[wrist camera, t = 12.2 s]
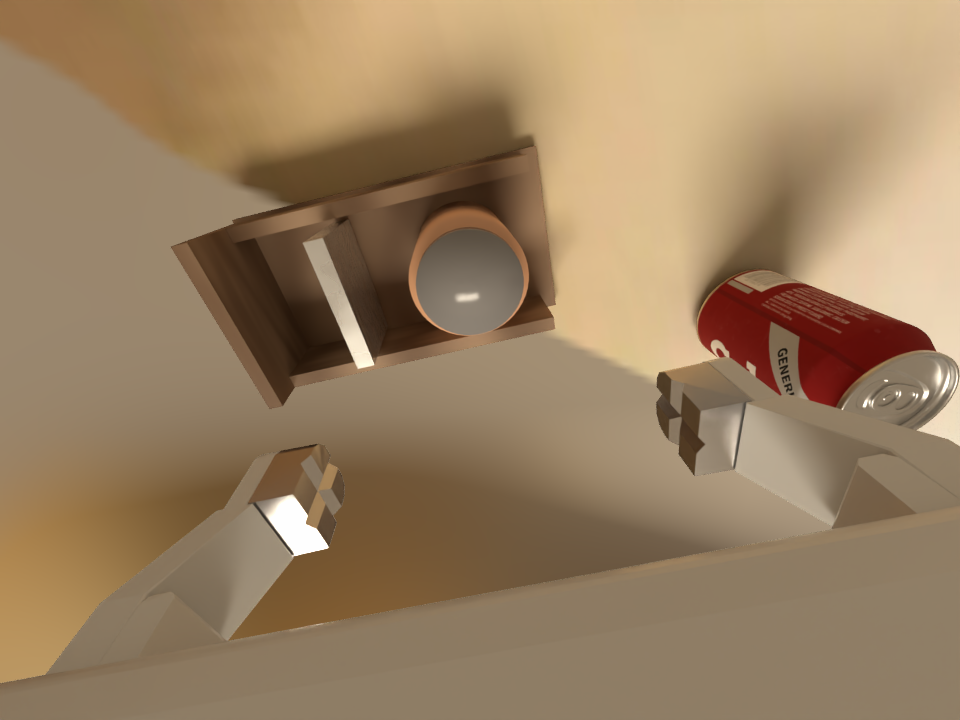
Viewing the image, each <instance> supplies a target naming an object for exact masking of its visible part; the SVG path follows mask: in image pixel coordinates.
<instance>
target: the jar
mask: <svg viewBox="0 0 960 720" xmlns="http://www.w3.org/2000/svg"><path fill="white" fill-rule="evenodd" d="M528 282H529V270H528V264H527V260H526V257H525V254H524V252H523V250H522V248H521V246H520V245H519V243H518V242H517V241H516V239H515V238H514V237H513V235H512V234H511V233H510V232H509V230H508V229H507V228H506V227H505V225H504V224H503V223H502V221H501V220H500V219H499V218H498V216H497V215H496V214H495V213H494V212H492V211H491V210H490V209H488V208H487V207H485V206H483V205H481V204H478V203H475V202H470V201H456V202H451V203H448V204H445V205H443V206H441V207H439V208H438V209H436V210H435V211H434V212H433V213H431V214H430V215H429V216H428V218H427V219H426V220H425V222H424V223H423V225H422V227H421V229H420V232H419V235H418V238H417V242H416V245H415V249H414V252H413V256H412V259H411V263H410V267H409V287H410V292H411V295H412V298H413V301H414V303H415V305H416V307H417V308H418V310H419V311H420V312H421V314H422V315H423V316H424V317H425V318H426V319H427V320H428V321H429V322H430V323H432V324H433V325H434V326H436V327H438V328H439V329H441V330H444V331H446V332H448V333H452V334H456V335H464V336H472V335H480V334H484V333H487V332H490V331H493V330H495V329H497V328H499V327H500V326H502V325H503V324H505V323H506V322H507V321H508V320H510V319H511V318H512V317H513V316H514V315H515V313H516V312H517V311H518V309H519V308H520V306H521V304H522V303H523V300H524V298H525V296H526V292H527V289H528Z"/></svg>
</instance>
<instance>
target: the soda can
mask: <svg viewBox="0 0 960 720" xmlns="http://www.w3.org/2000/svg"><path fill="white" fill-rule="evenodd" d="M696 330H697V335H698V338H699V340H700V342H701V343H702V345H703V346H704V347H705V348H707V349H708V350H709V351H710V352H712V353H713V354H714V355H715V356H717V357H718V358H722V357H728V358H732V359H733V360H734V361H736V362H737V363H738V364H740V365H741V366H742V367H743V368H745V369H746V370H747V371H749V372H750V373H751V374H753V375H754V376H755V377H756V378H758V379H759V380H760V381H762V382H763V383H764V384H766V385H767V386H768V387H769V388H771V389H772V390H773V391H775V392H776V393H777V394H778V395H780V396H781V395H786V394H789V395H792V396H796V397H799V398H803V399H806V400H810V401H813V402H817V403H821V404H824V405H828V406H831V407H835V408H838V409H842V410H845V411H849V412H852V413H856V414H860V415H863V416H867V417H870V418H874V419H877V420H881V421H884V422H888V423H892V424H895V425H899V426H902V427H906V428H909V429H913V430H917V429H919V428H921V427H922V426H923V425H925V424H926V423H928V422H929V421H930V420H931V419H933V418H934V417H935V416H936V415H937V414H938V413H939V412H940V411H941V410H942V409H943V408H944V407H945V406H946V404H947V403H948V402H949V400H950V399H951V398H952V396H953V394H954V392H955V390H956V388H957V385H958V382H959V368H958V366H957V364H956V362H955V361H954V360H953V359H952V358H950V357H948V356H947V355H944V354H942V353H940V352H936V350H935V348H934V346H933V344H932V342H931V340H930V338H929V337H928V336H927V334H925V333H924V332H923V331H922V330H920V329H919V328H917V327H915V326H912V325H910V324H907V323H905V322H902V321H900V320H897V319H894V318H892V317H889V316H887V315H884V314H882V313H879V312H876V311H874V310H871V309H869V308H866V307H864V306H861V305H858V304H856V303H853V302H851V301H848V300H845V299H843V298H840V297H838V296H835V295H833V294H830V293H827V292H825V291H822V290H820V289H817V288H815V287H812V286H809V285H807V284H804V283H802V282H799V281H797V280H794V279H791V278H789V277H786V276H784V275H781V274H779V273H776V272H773V271H770V270H766V269H752V270H747V271H743V272H740V273H738V274H735V275H733V276H731V277H730V278H728V279H726V280H725V281H723V282H722V283H721V284H719V285H718V286H717V287H716V288H715V289H714V290H713V291H712V292H711V293H710V294H709V296H708V297H707V298H706V300H705V301H704V303H703V305H702V307H701V309H700V311H699V314H698V317H697V323H696Z"/></svg>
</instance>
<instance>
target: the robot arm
mask: <svg viewBox="0 0 960 720" xmlns="http://www.w3.org/2000/svg"><path fill="white" fill-rule="evenodd" d="M657 388H658V389H659V391H660V392H661V393H662V396H661V397H660V398H659V400H658V401H657V402H656V403H657V404H656V408H657V417H658V421H659V425H660V427H661V429H662V431H663V433H664V435H665V436H666V438H667V439H668V440H669V441H671V442H673V443H675V444H677V445H679V456H680V457H681V458H682V460H683V461H684V462H685V464H686V465H687V467H688V468H689V469H690V471H691V472H692V473H693V475H694V476H698V475H705V474H711V473H716V472H722V471H728V470H734V469H735V472H737V473H739V474H740V475H742V476H744V477H746V478H748V479H749V480H751V481H753V482H755V483H756V484H758V485H760V486H761V487H764V488H765V489H767V490H768V491H770V492H772V493H774V494H776V495H777V496H779V497H781V498H783V499H785V500H786V501H788V502H790V503H791V504H793V505H795V506H797V507H798V508H800V509H802V510H804V511H805V512H807V513H809V514H811V515H813V516H814V517H816V518H818V519H819V520H821V521H823V522H825V523H827V524H828V525H830V526H832V529H830V530H825V531H820V532H815V533H809V534H803V535H798V536H793V537H788V538H782V539H777V540H772V541H766V542H760V543H755V544H750V545H744V546H738V547H733V548H728V549H722V550H717V551H711V552H706V553H701V554H695V555H691V556H685V557H679V558H674V559H669V560H663V561H658V562H653V563H647V564H642V565H637V566H631V567H626V568H620V569H615V570H610V571H604V572H599V573H594V574H589V575H583V576H578V577H572V578H567V579H562V580H556V581H550V582H545V583H540V584H534V585H529V586H524V587H518V588H513V589H507V590H502V591H496V592H491V593H485V594H480V595H475V596H470V597H465V598H459V599H453V600H448V601H442V602H437V603H431V604H426V605H421V606H415V607H410V608H404V609H399V610H393V611H388V612H382V613H377V614H372V615H366V616H361V617H355V618H350V619H345V620H339V621H334V622H329V623H323V624H318V625H313V626H307V627H302V628H296V629H291V630H285V631H280V632H274V633H269V634H264V635H258V636H253V637H247V638H243V639H237V640H231V641H228V640H229V638H230V637H231V636H232V634H233V633H234V632H235V631H236V629H237V628H238V627H239V626H240V624H241V623H242V622H243V621H244V619H245V618H246V617H247V616H248V614H249V613H250V612H251V611H252V609H253V608H254V607H255V606H256V604H257V603H258V602H259V601H260V599H261V598H262V597H263V595H264V594H265V593H266V592H267V591H268V589H269V588H270V587H271V585H272V584H273V583H274V582H275V580H276V579H277V578H278V577H279V576H280V574H281V573H282V572H283V570H284V569H285V568H286V567H287V565H288V564H289V563H290V562H291V560H292V559H293V556H295V555H299V554H303V553H308V552H312V551H316V550H321V549H325V548H329V546H330V542H331V539H332V536H333V533H334V529H335V526H336V520H335V519H334V517H333V515H334V514H335V513H336V512H337V511H338V510H339V508H341V506H342V503H343V499H344V482H343V478H342V475H341V473H340V471H339V469H338V468H336V467H335V466H333V465H331V464H329V463H328V462H329V459H330V454H329V452H328V450H327V449H326V447H325V445H322V444H315V445H309V446H304V447H299V448H293V449H288V450H283V451H280V452H273V453H269V454H263V455H261V456H259V457H257V458H256V459H255V460H254V462H253V463H252V465H251V467H250V468H249V470H248V471H247V473H246V474H245V476H244V478H243V479H242V481H241V482H240V484H239V486H238V487H237V489H236V490H235V492H234V493H233V495H232V497H231V498H230V500H229V501H228V503H227V505H226V506H225V508H224V509H223V510H219V511H216V512H215V513H214V514H212V515H211V516H210V517H208V518H207V519H206V520H205V521H204V522H202V523H201V524H200V525H198V526H197V527H196V528H195V529H193V530H192V531H191V532H190V533H188V534H187V535H186V536H184V537H183V538H182V539H181V540H179V541H178V542H177V543H176V544H175V545H173V546H172V547H171V548H169V549H168V550H167V551H166V552H164V553H163V554H162V555H160V556H159V557H158V558H157V559H155V560H154V561H153V562H152V563H150V564H149V565H148V566H147V567H145V568H144V569H143V570H142V571H140V572H139V573H138V574H137V575H135V576H134V577H133V578H132V579H130V580H129V581H128V582H126V583H125V584H124V585H123V586H121V587H120V588H119V589H118V590H116V591H115V592H114V593H112V594H111V595H110V596H109V597H108V598H106V599H105V600H104V601H102V602H101V603H100V604H99V606H98V607H97V608H96V609H95V611H94V612H93V613H92V614H91V616H90V617H89V619H88V620H87V621H86V622H85V624H84V625H83V626H82V628H81V629H80V630H79V632H78V633H77V634H76V635H75V637H74V638H73V639H72V641H71V642H70V643H69V645H68V646H67V647H66V648H65V650H64V651H63V652H62V654H61V655H60V656H59V658H58V659H57V660H56V662H55V663H54V664H53V665H52V667H51V668H50V669H49V671H48V672H47V673H46V675H42V676H37V677H32V678H26V679H21V680H16V681H10V682H4V683H0V720H960V446H958V445H957V444H955V443H953V442H952V441H950V440H948V439H945V438H941V437H938V436H934V435H931V434H927V433H924V432H920V431H916V430H913V429H909V428H906V427H902V426H899V425H895V424H892V423H888V422H884V421H881V420H877V419H874V418H870V417H867V416H863V415H860V414H856V413H852V412H849V411H845V410H842V409H838V408H835V407H831V406H828V405H824V404H821V403H817V402H813V401H810V400H806V399H803V398H799V397H796V396H792V395H789V394H786V395H781V396H780V395H778V394H777V393H776V392H775V391H773V390H772V389H771V388H769V387H768V386H767V385H766V384H764V383H763V382H762V381H760V380H759V379H758V378H756V377H755V376H754V375H753V374H751V373H750V372H749V371H747V370H746V369H745V368H743V367H742V366H741V365H740V364H738V363H737V362H736V361H734V360H733V359H732V358H728V357H722V358H718V359H714V360H710V361H706V362H703V363H700V364H696V365H691V366H686V367H682V368H677V369H672V370H668V371H663V372H659V374H658V377H657Z"/></svg>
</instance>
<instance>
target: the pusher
mask: <svg viewBox="0 0 960 720" xmlns="http://www.w3.org/2000/svg"><path fill="white" fill-rule="evenodd" d="M303 245H304V247H305V249H306V252H307V254H308V256H309V259H310V261H311V263H312V265H313V268H314V271H315V273H316V275H317V278H318V280H319V282H320V284H321V287H322V289H323V291H324V294H325V296H326V298H327V300H328V303H329V305H330V307H331V310H332V312H333V314H334V316H335V318H336V320H337V323H338V325H339V327H340V329H341V332H342V334H343V336H344V339H345V341H346V343H347V345H348V348H349V350H350V352H351V355H352V357H353V359H354V361H355V364H356V366H357V368H358V369H359V368H364V367H368V366H373V365H375V363H376V360H377V357H378V354H379V351H380V348H381V345H382V342H383V339H384V336H385V333H386V330H387V327H388V324H387V321H386V319H385V316H384V313H383V310H382V308H381V305H380V302H379V299H378V297H377V294H376V291H375V289H374V286H373V283H372V280H371V278H370V275H369V272H368V270H367V267H366V264H365V261H364V259H363V256H362V253H361V250H360V248H359V245H358V242H357V240H356V237H355V234H354V231H353V229H352V226H351V223H350V221H349V219H346V220H342V221H338V222H334V223H332V224H330V225H329V226H327V227H326V228H324V229H323V230H321V231H320V232H318V233H317V234H315V235H314V236H312V237H311V238H309V239H308V240H306V241H305V242H303Z"/></svg>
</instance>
